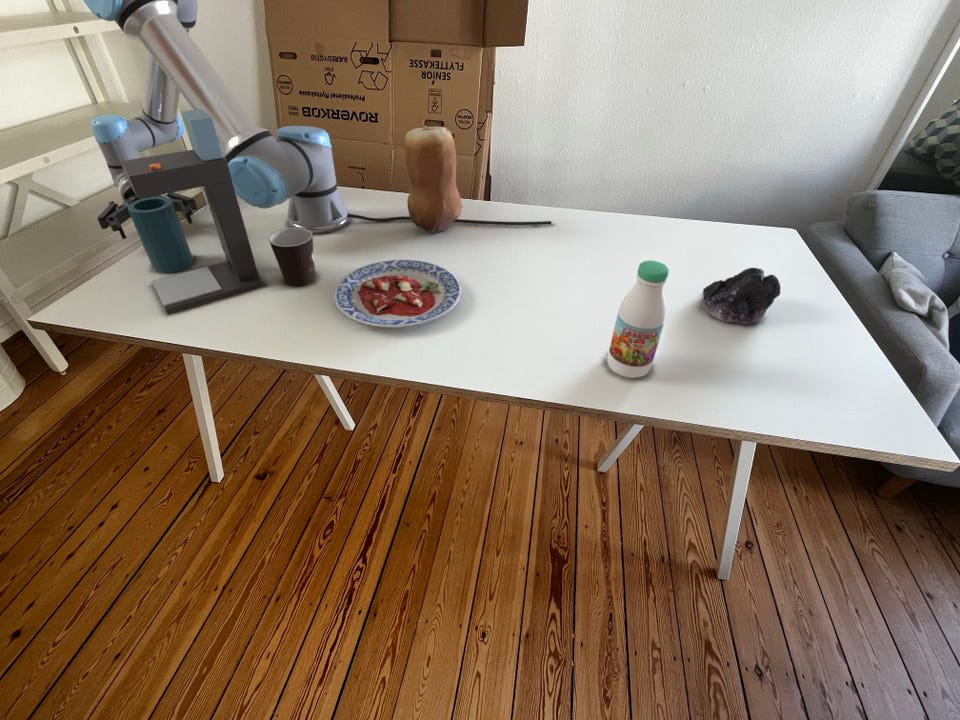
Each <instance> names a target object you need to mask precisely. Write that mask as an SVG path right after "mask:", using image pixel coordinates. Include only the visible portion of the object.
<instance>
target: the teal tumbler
mask: <svg viewBox="0 0 960 720" xmlns="http://www.w3.org/2000/svg"><path fill="white" fill-rule="evenodd" d="M128 211H129V213H130V216H131V218H130V219H131V221H132V223H133V225H134V227H135V230H136V232H137V235H138V237H139V240H140V242H141V243H142V246H143V248H144V250H145V253H146V255H147V258H148V260H149V262H150V265H151V267H152V268H153V270H154V271H155V272H156V273H161V274H172V273H177V272H182V271H185V270H186V269H188V268H189V267H191V266H192V265H193V263H194V257H193V255H192V252H191V250H190V249H191V248H190V246H189V244H188V240H187V238H186V236H185V233H184V230H183V228H182V225H181V222H180V219H179V217H178V214H177V211H175V208H174V205H173V203H172V200H171V199H169V198H166V197H149V198H144V199H140V200H137V201H135V202H133V203H131V204H130V205H129V206H128Z"/></svg>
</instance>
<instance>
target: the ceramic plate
mask: <svg viewBox="0 0 960 720" xmlns="http://www.w3.org/2000/svg"><path fill="white" fill-rule="evenodd" d="M461 293H462V288H461V284H460V282H459V280H458V278H457V277H456V276H455V275H454V274H453V273H452V272H451V271H449V270H447V269H446V268H445V267H442V266H440V265H439V264H438V265H437V264H434V263H430V262H427V261H422V260H415V259H390V260H384V261H383V260H382V261H377V262H372V263H370V264H367V265H364V266H361V267H359V268H356V269H355V270H353V271H351V272H349V273H348V274H347V275H345V276H344V277H343V278H342V279H341V280H340V281H339V282H338V284H337V285H336V287H335V289H334V293H333V299H334V304H335V305H336V307H337V309H338V310H339V311H340V312H341V313H342V314H343V315H344V316H346V317H347V318H349V319H350V320H352V321H355V322H357V323H360V324H362V325H367V326H370V327H377V328H387V329H388V328H390V329H391V328H393V329H395V328H408V327H414V326H418V325H423V324H427V323H429V322H432V321H435V320H437V319H439V318H441V317H442V316H444V315H446V314H448V312H450V311H451V310H453V308H454V307H455V306H456V305H457V304H458V302H459V300H460V298H461Z"/></svg>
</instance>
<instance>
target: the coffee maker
mask: <svg viewBox="0 0 960 720" xmlns="http://www.w3.org/2000/svg"><path fill="white" fill-rule="evenodd" d="M180 112H181V116H182V119H183V124H184V125H185V128H186V132H187V135H188V138H189V141H190V144H191V148H192V149H189V150H181V151H176V152H170V153H163V154H157V155H151V156H145V157H140V158H138V159H131V160H125V161H120V162H121V164H122V167H123V169H124V172H125V174H126V177H127V179H128V181H129V184H130V185H131V187H132V189H133V191H134V192H135V194H136V196H137V198H138V199H141V198H146V197H153V196H156V195H161V196H163V195H166V194H167V193H172V192H174V193H177V192H182V191H186V190H191V189H197V188H202V187H203V190H204V193H205V196H206V200H207V202H208V203H207V204H208V206H209V210H210V213H211V217H212V220H213V222H214V226H215V229H216V232H217V235H218V238H219V242H220V244H221V248H222V251H223V253H224V255H225V258H226V261H222V262H218V263H213V264H209V265H207V266H206V265H205V266H202V267H199V268H195V269H191V270H187V271H184V272H183V271H182V272H180V273H176V274H173V275H168V276H165V277H161V278H157V279H154V280H151V282H152V285H153V287H154V290H155V291H156V294H157V296H158V297H159V300H160V302H161V304H162V306H163V308H164V311H165V312H166V314H167V315H169V314H173V313H176V312H180V311H183V310H186V309H190V308H193V307H196V306H200V305H204V304H207V303H210V302H213V301H217V300H221V299H224V298H227V297H231V296H234V295H237V294H240V293H244V292H247V291H251V290H254V289H257V288H260V287H264V286H265V285H264V281H263V279H262V278H261V277H260V276H259V271H258V268H257V265H256V264H257V263H256V260H255V257H254V254H253V251H252V247H251V244H250V240H249V235H248V233H247V228H246V226H245V222H244V218H243V215H242V211H241V208H240V203H239V201H238V197H237V194H236V193H235V190H234V186H233V183H232V178H231V174H230V170H229V167H228V163H227V160H226V159H225V158H224V153H223V150H222V148H221V147H222V146H221V144H220V143H219V140H218V136H217V133H216V129H215V126H214V122H213V119H212V117H211V116H209V115H208V114H207V113H206V112H205V111H204V110H202V109H197V110H194V109H190V110H182V111H180Z"/></svg>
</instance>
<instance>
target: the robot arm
mask: <svg viewBox="0 0 960 720" xmlns="http://www.w3.org/2000/svg"><path fill="white" fill-rule="evenodd" d="M82 1H83V3H84V4H85V5H86V7H87V9H88V10H89V11H90V12H91V13H92V14H93V15H94V16H95V17H97V18H99V19H102V20H103V21H106V22H115V23H116V25H117V26H118V27H119V28H120V30H121V31H122V32H123V33H124V35H125V36H126V37H127V38H129V39H132V40H135V41H139V42H141V44H142V45H143V46H144V48H145V49H146V51H147V52H146V63H145V64H146V65H145V75H144V76H145V77H144V86H143V88H144V89H143V98H142V99H143V100H142V109H141V115H139V116H137V117H133V118H128V119H126V118H125V117H124V116H123V115H120V114H116V113H110V114H109V113H107V114H101V115H98V116H95V117H93V118H92V119H90V126H91V130H92V133H93V136H94V139H95V142H97V145H98V147H99V149H100V151H101V153H102V156H103V158H104V159H105V162H106V165H107V169H108V171H109V173H110V176H111V179H112V181H113V185H114V186H115V187H116V188H117V190H118V193H119V195H120V197H121V199H122V203H118V202H115V201H114V200H111V201H108V206H106V208H105V209H104V210H103V211H102V212H101V213H100V214H99V215H98V216H97V217H96V219H97V222H98V224H99V225H100V228H101V229H102V230H106V229H108V228H109V227H110V228H111V230H112V232H119V234H120V236H121V238H122V240H125V239H127V236H126V233H125V231H124V229H123V227H122V224H124V223H125V222H126V221H128V220H129V219H132V218H131V216H130V213H129V211H128V206H129V205H130V204H131V203H133V202H135V201H137V200H140V199H138V198H137V196H136V194H135V192H134V191H133V189H132V187H131V185H130V184H129V181H128V179H127V177H126V174H125V172H124V169H123V167H122V164H121V162H120V161H125V160H131V159H138V158H141V156H140V153H142V152H144V151H148V150H150V149H154V148H157V147H159V146H162V145H165V144H169V143H173V142H174V141H176V140H178V139H180V138H181V137H183V136H184V134H185V127H184V121H183V120H182V117H180V115H179V114H178V109H179V103H180V96H181V95H182V96H183V98H184V99H185V101H186V102H187V103H188V104H189V105H190V107H191V108H192V110H197V109H202V110H204V111H205V112H206V113H207V114H208V115H209V116H211V117H212V119H213V122H214V126H215V129H216V133H217V136H218V140H219V143H220V146H221V147H222V148H223V157H224V158H225V159H226V160H227V163H228V167H229V170H230V174H231V178H232V183H233V186H234V190H235V194H236V196H238V197H239V198H240V199H241V200H242V201H243V202H245V203H246V204H247V205H250V206H252V207H254V208H259V209H270V208H273V207H275V206H277V205H281V204H284V203H285V202H286V201H287V200H288V209H287V222H288V225H289V228H304V229H307V230H309V231H311V233H312V235H313V234H326V233H330V232H334V231H337V230H339V229H342V228H343V227H345V226H346V225H347V224H348V223H349V221H350V218H352V219H357V220H364V221H367V222H368V221H369V222H391V221H403V220H404V221H406V220H407V221H409V220H410V221H412V219H411V218H410V216H409V215H408V216H407V215H406V216H404V215H403V216H391V217H377V218H376V217H368V216H364V215H358V214H352V213H349V210H348V207H347V206H346V204H345V202H344V199H343V198H342V196H341V194H340V192H339V190H338V184H337V177H336V171H335V164H334V157H333V150H332V148H333V146H332V145H331V140H330V135H329V133H328V132H327V131H326V130H325V129H323V128H320V127H315V126H306V125H290V126H282V127H279V128H278V129H277V130H276V137H275V136H274V135H273V134H272V133H271V132H270V130H269V129H267V128H263V127H259V126H257V124H256V123H255V122H254V121H253V119H252V117H251V116H250V114H249V113H248V112H247V110H246V109H245V107H244V106H243V105H242V104H241V103H240V101H239V100H238V98H237V97H236V96H235V94H234V93H233V91H231V89H230V88H229V86H228V85H227V83H226V82H225V81H224V80H223V78H222V77H221V76H220V74H219V73H218V71H217V70H216V69H215V68H214V66H213V65H212V64H211V62H210V61H209V60H208V58H207V57H206V56H205V54H204V53H203V51H202V50H201V49H200V47H199V46H198V45H197V43H196V42H195V40H194V39H193V38H192V36H191V35H190V29H193V28H195V27H196V23H197V18H198V7H199V6H198V0H82ZM276 138H277V140H276ZM153 197H166V198H169V199H171V200H172V203H173V205H174V208H175V211H176V212H180V213H182V216H183V217H184V218H185V221H187V222H188V224H189V225H192V224H194V222H193V219H192V216H194V211H197V210H198V209H199V208H198V205H197V202H196V199H195V198H193V197H191V196H186V195H183V194H180V193H177V192H172V193H167V194H162V195H156V196H153ZM146 198H149V197H146ZM141 199H144V198H141ZM453 223H459V224H475V225H477V224H478V225H495V226H496V225H497V226H540V225H541V226H543V225H552V220H544V221H541V220H540V221H498V220H497V221H496V220H479V219H478V220H476V219H465V218H464V219H461V218H457V219H456V220H455V221H454V222H453Z"/></svg>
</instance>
